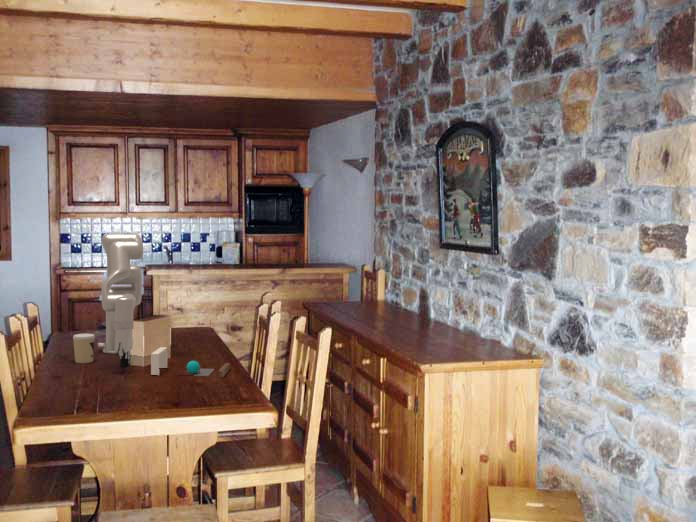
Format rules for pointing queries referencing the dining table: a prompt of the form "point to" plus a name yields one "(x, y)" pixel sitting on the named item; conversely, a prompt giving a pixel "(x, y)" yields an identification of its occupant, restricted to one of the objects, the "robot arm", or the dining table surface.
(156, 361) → the bridge
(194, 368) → the ball
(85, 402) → the dining table surface
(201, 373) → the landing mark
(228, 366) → the stopper wall
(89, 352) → the coffee cup
